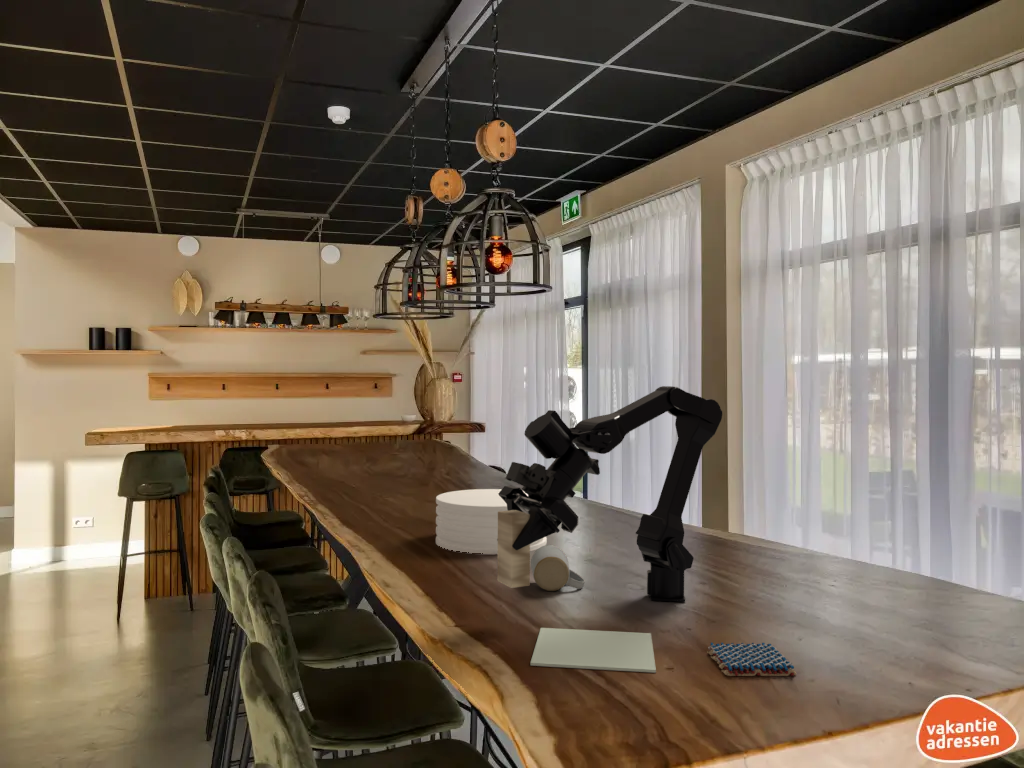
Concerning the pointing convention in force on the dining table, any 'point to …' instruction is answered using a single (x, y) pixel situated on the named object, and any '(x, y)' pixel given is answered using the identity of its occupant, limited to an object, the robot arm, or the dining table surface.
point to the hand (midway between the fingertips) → (506, 545)
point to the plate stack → (471, 521)
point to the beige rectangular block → (512, 550)
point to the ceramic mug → (553, 569)
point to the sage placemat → (594, 650)
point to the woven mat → (751, 660)
